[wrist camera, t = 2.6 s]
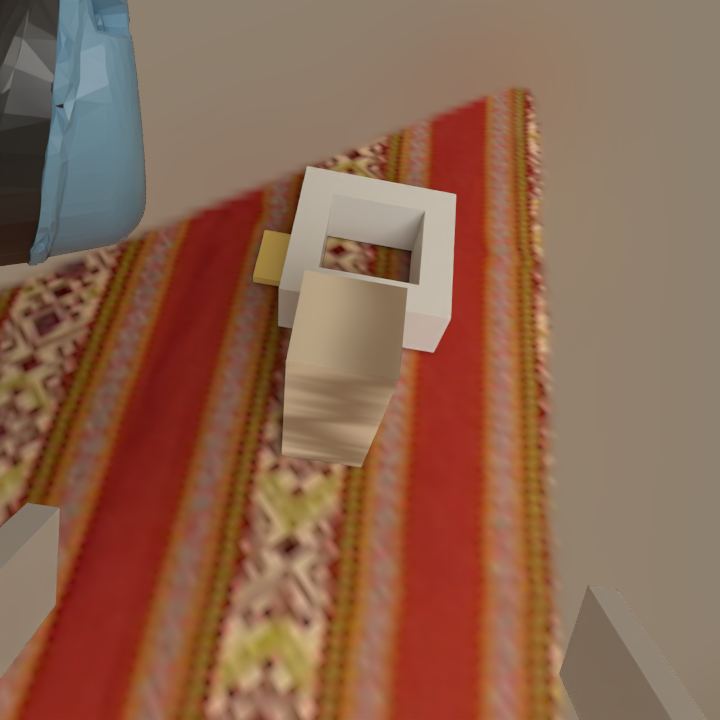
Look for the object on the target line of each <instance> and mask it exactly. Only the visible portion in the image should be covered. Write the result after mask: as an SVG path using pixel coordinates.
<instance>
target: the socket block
mask: <svg viewBox="0 0 720 720" xmlns="http://www.w3.org/2000/svg"><path fill="white" fill-rule="evenodd" d="M455 211H456V194H452V193H447V192H441V191H436V190H431V189H425V188H420V187H415V186H410V185H404V184H399V183H394V182H388V181H383V180H378V179H373V178H367V177H362V176H357V175H352V174H346V173H341V172H336V171H330V170H325V169H320V168H315V167H309V166H307V169H306V173H305V177H304V182H303V186H302V190H301V195H300V199H299V203H298V208H297V212H296V216H295V220H294V225H293V229H292V233H291V234H286V233H280V232H275V231H269V230H265V232H264V236H263V239H262V243H261V247H260V251H259V255H258V258H257V262H256V266H255V270H254V273H253V282H256V283H262V284H268V285H273V286H279V300H278V326H281V327H286V328H292V329H293V324H294V319H295V315H296V310H297V305H298V300H299V295H300V291H301V286H302V281H303V276H304V271H305V270H309V271H314V272H320V273H325V274H331V275H337V276H342V277H348V278H354V279H359V280H365V281H370V282H376V283H382V284H387V285H393V286H399V287H404V288H408V290H407V301H406V312H405V323H404V334H403V345H402V347H403V348H409V349H415V350H421V351H427V352H432V353H434V351H435V349H436V347H437V345H438V343H439V341H440V339H441V337H442V335H443V333H444V331H445V329H446V327H447V325H448V323H449V321H450V319H451V304H452V281H453V257H454V234H455ZM328 236H332V237H338V238H343V239H349V240H354V241H360V242H365V243H371V244H376V245H382V246H387V247H393V248H398V249H404V250H409V251H412V253H411V264H410V275H409V283H405V282H399V281H394V280H388V279H383V278H377V277H371V276H366V275H360V274H355V273H349V272H343V271H338V270H332V269H327V268H322V263H323V258H324V253H325V247H326V242H327V237H328Z"/></svg>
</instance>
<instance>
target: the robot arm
mask: <svg viewBox="0 0 720 720" xmlns="http://www.w3.org/2000/svg"><path fill="white" fill-rule="evenodd" d="M129 22H130V18H129V11H128V4H127V0H0V266H5V265H12V264H19V263H28V264H29V265H30V266H31V265H37V264H38V263H43V262H44V261H46V260H47V258H48V257H51V256H55V255H61V254H67V253H72V252H77V251H83V250H88V249H93V248H99V247H104V246H109V245H113V244H116V243H117V242H119V241H122V240H123V239H125V238H126V237H128V235H129V234H130V233H131V232H132V231H133V230H134V229H135V228H136V227H137V226H138V224H139V222H140V220H141V218H142V216H143V214H144V210H145V204H146V179H145V159H144V147H143V134H142V121H141V112H140V101H139V91H138V81H137V72H136V64H135V56H134V48H133V42H132V37H131V34H130V32H129ZM59 515H60V508H58V507H51V506H44V505H38V504H31V503H27V504H25V505H24V506H23V507H22V508H21V509H20V510H19V511H18V512H17V513H16V514H15V515H13V516H12V517H11V518H10V519H9V520H8V521H7V522H6V523H5V524H4V525H2V526H1V527H0V679H1V678H2V676H3V675H4V674H5V672H6V671H7V669H8V668H9V667H10V665H11V664H12V663H13V661H14V660H15V659H16V657H17V656H18V655H19V653H20V652H21V651H22V649H23V648H24V647H25V645H26V644H27V643H28V641H29V640H30V639H31V637H32V636H33V635H34V633H35V632H36V630H37V629H38V628H39V626H40V625H41V624H42V622H43V621H44V620H45V618H46V617H47V616H48V614H49V613H50V612H51V610H52V609H53V608H54V606H55V605H56V584H57V561H58V538H59ZM559 674H560V677H561V679H562V681H563V683H564V686H565V688H566V690H567V692H568V695H569V697H570V699H571V701H572V704H573V706H574V708H575V710H576V713H577V715H578V717H579V719H580V720H707V719H706V718H705V716H704V715H703V713H702V711H701V710H700V709H699V707H698V706H697V704H696V703H695V701H694V700H693V698H692V697H691V696H690V694H689V693H688V691H687V690H686V688H685V687H684V685H683V684H682V683H681V681H680V680H679V678H678V677H677V675H676V674H675V672H674V671H673V670H672V668H671V667H670V665H669V664H668V662H667V661H666V659H665V658H664V657H663V655H662V654H661V652H660V651H659V649H658V648H657V646H656V645H655V644H654V642H653V641H652V639H651V638H650V637H649V635H648V633H647V632H646V631H645V629H644V628H643V626H642V625H641V624H640V622H639V620H638V619H637V618H636V617H635V615H634V613H633V612H632V610H631V609H630V607H629V606H628V605H627V603H626V602H625V600H624V599H623V597H622V596H621V594H620V593H619V592H618V590H617V589H610V588H603V587H596V586H589V585H588V587H587V590H586V593H585V596H584V599H583V602H582V606H581V609H580V612H579V615H578V618H577V621H576V624H575V627H574V630H573V633H572V636H571V639H570V642H569V645H568V648H567V652H566V655H565V658H564V661H563V664H562V667H561V670H560V673H559Z"/></svg>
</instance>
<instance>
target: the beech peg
mask: <svg viewBox="0 0 720 720" xmlns="http://www.w3.org/2000/svg"><path fill="white" fill-rule="evenodd" d="M407 290H408V288H404V287H399V286H393V285H387V284H382V283H376V282H370V281H365V280H359V279H354V278H348V277H342V276H337V275H331V274H325V273H320V272H314V271H309V270H305V271H304V276H303V281H302V286H301V291H300V295H299V300H298V305H297V310H296V315H295V319H294V324H293V329H292V334H291V339H290V344H289V348H288V353H287V358H286V371H285V393H284V414H283V436H282V455H286V456H292V457H298V458H305V459H311V460H317V461H324V462H330V463H337V464H343V465H349V466H356V467H361V466H362V464H363V462H364V459H365V457H366V455H367V453H368V450H369V448H370V446H371V443H372V441H373V439H374V436H375V434H376V432H377V430H378V427H379V425H380V423H381V420H382V418H383V416H384V413H385V411H386V409H387V407H388V404H389V402H390V400H391V397H392V395H393V393H394V390H395V388H396V386H397V384H398V381H399V378H400V367H401V356H402V345H403V334H404V323H405V312H406V301H407Z"/></svg>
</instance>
